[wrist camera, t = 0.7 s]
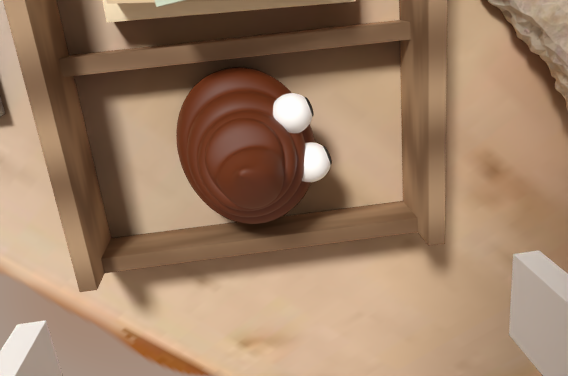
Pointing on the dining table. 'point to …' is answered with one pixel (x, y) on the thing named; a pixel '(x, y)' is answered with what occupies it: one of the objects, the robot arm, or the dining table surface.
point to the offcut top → (166, 2)
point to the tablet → (542, 33)
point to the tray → (63, 67)
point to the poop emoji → (248, 145)
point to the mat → (1, 108)
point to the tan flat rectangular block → (197, 8)
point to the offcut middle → (147, 1)
